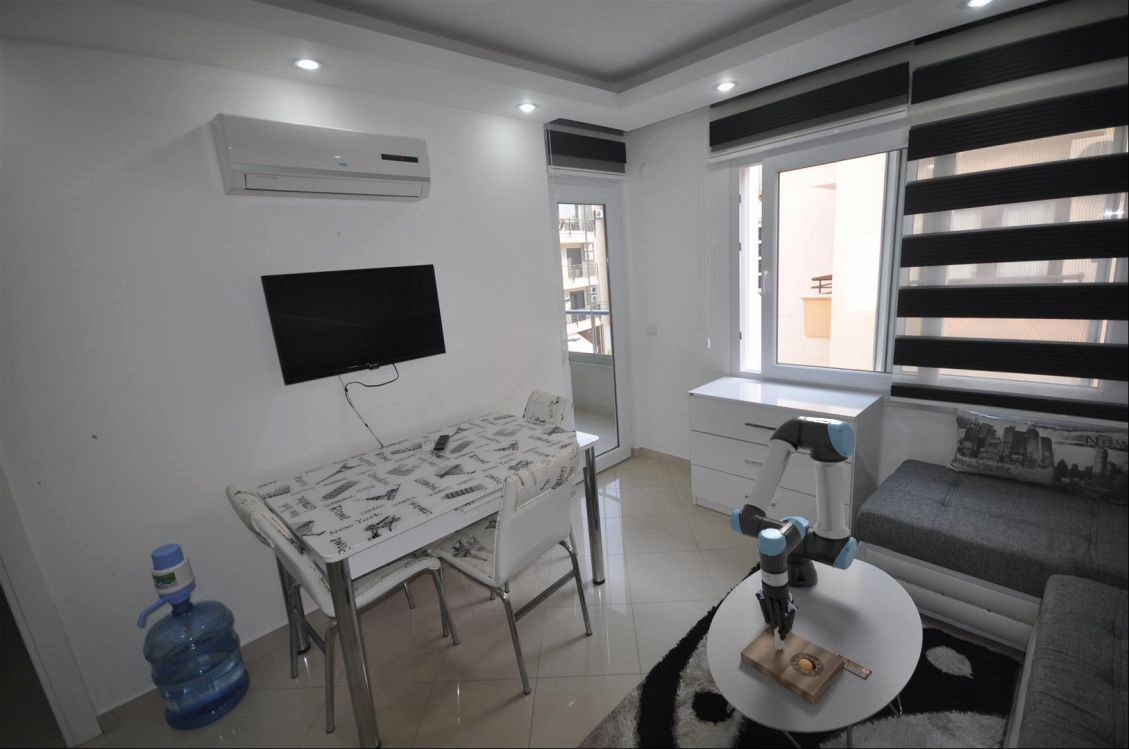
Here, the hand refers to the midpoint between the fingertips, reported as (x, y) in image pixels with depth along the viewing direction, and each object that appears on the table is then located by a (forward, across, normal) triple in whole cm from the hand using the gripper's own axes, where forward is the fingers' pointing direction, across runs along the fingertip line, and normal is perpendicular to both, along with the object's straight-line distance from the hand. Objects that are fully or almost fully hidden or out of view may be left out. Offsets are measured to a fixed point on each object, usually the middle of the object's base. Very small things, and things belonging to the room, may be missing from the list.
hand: (779, 646), depth 154 cm
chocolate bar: (+5, +17, +10) cm, 20 cm away
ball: (+2, +8, -1) cm, 8 cm away
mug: (+4, -8, +15) cm, 18 cm away
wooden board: (+4, +4, 0) cm, 5 cm away
